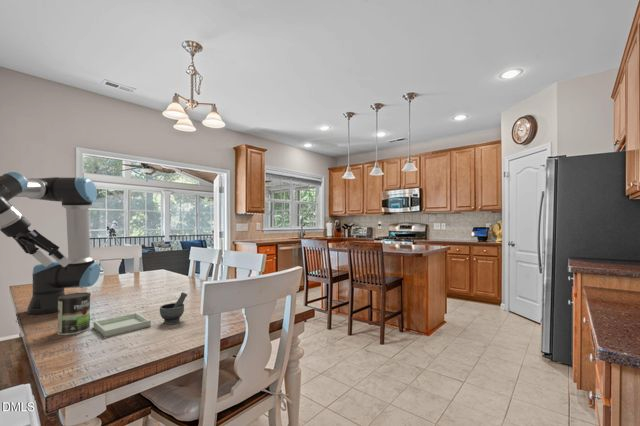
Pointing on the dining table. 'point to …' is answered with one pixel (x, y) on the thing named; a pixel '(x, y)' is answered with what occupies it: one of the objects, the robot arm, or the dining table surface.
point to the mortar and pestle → (173, 310)
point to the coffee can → (73, 313)
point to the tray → (121, 324)
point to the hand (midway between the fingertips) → (58, 264)
